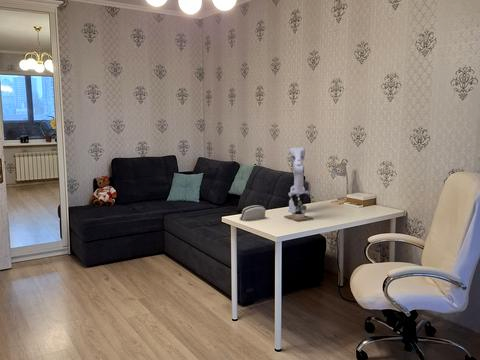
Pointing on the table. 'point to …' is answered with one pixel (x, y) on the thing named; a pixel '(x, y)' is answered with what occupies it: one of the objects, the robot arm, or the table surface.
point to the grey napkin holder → (253, 213)
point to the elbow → (299, 207)
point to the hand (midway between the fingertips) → (298, 206)
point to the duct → (298, 217)
